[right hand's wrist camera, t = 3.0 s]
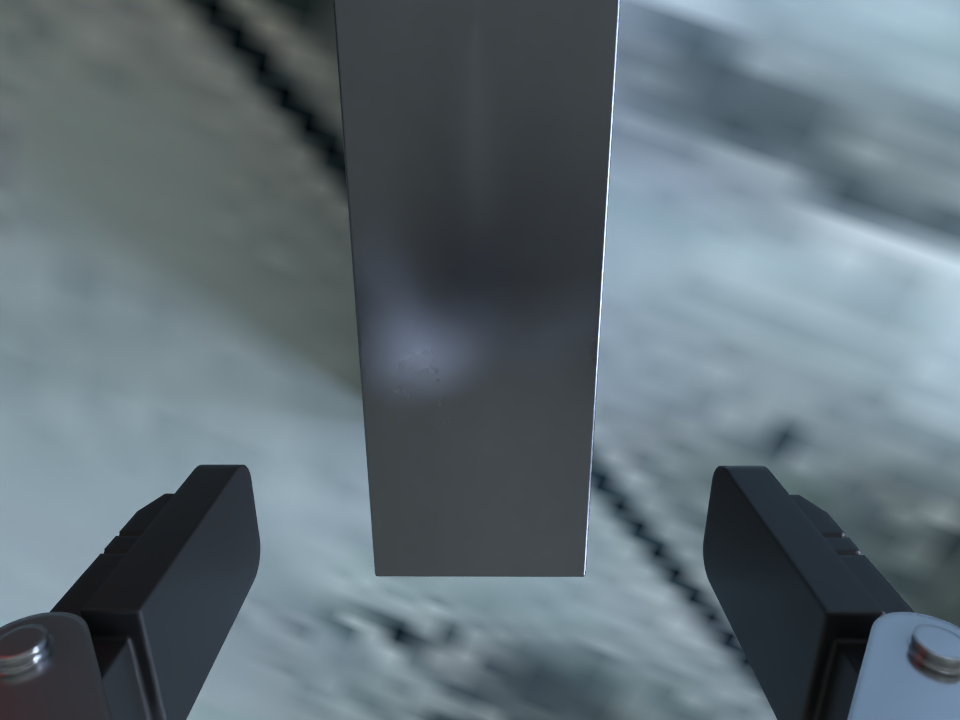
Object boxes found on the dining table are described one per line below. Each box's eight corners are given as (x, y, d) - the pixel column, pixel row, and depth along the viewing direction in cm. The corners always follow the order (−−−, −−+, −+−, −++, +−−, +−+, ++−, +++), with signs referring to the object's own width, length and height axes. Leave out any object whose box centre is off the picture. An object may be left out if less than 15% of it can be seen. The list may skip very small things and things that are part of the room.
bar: (552, 427, 24) (585, 578, 16) (411, 427, 25) (374, 577, 16) (587, -519, 16) (693, -1195, 8) (368, -515, 16) (245, -1183, 8)
